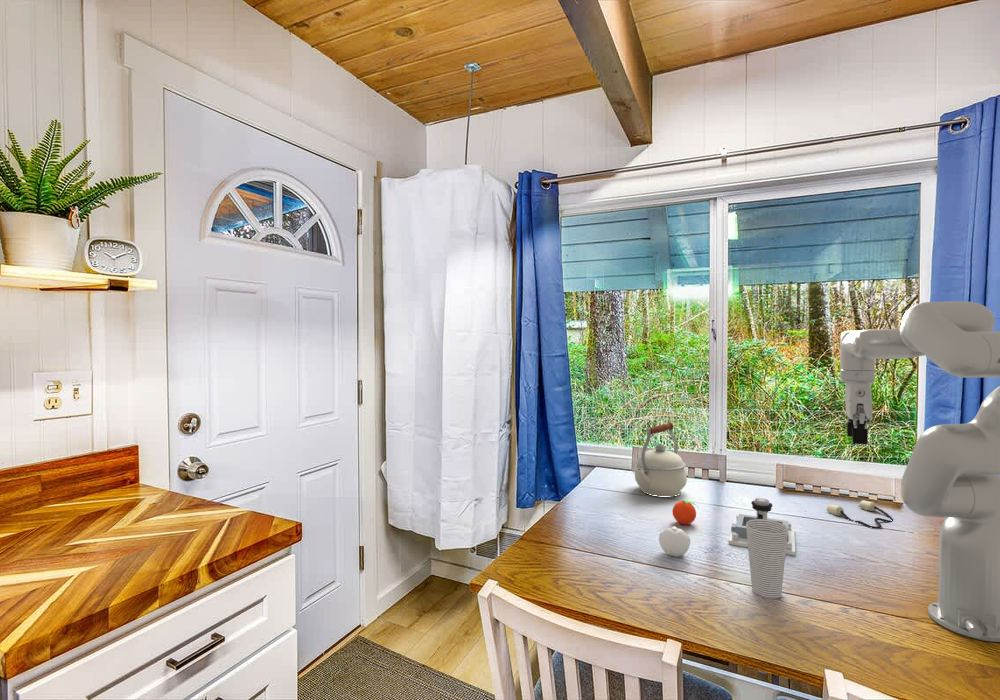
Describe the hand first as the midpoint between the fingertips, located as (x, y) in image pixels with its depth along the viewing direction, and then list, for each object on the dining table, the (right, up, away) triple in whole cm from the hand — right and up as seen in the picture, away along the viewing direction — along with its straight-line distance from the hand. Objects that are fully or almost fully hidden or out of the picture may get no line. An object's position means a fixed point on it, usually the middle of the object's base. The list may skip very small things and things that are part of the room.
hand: (857, 440), depth 135 cm
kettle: (-38, -29, +50) cm, 69 cm away
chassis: (-21, -30, +9) cm, 37 cm away
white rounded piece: (-50, -31, -1) cm, 58 cm away
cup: (-35, -31, -20) cm, 51 cm away
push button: (-21, -29, +8) cm, 37 cm away
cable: (+19, -29, +23) cm, 42 cm away
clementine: (-39, -30, +20) cm, 53 cm away
